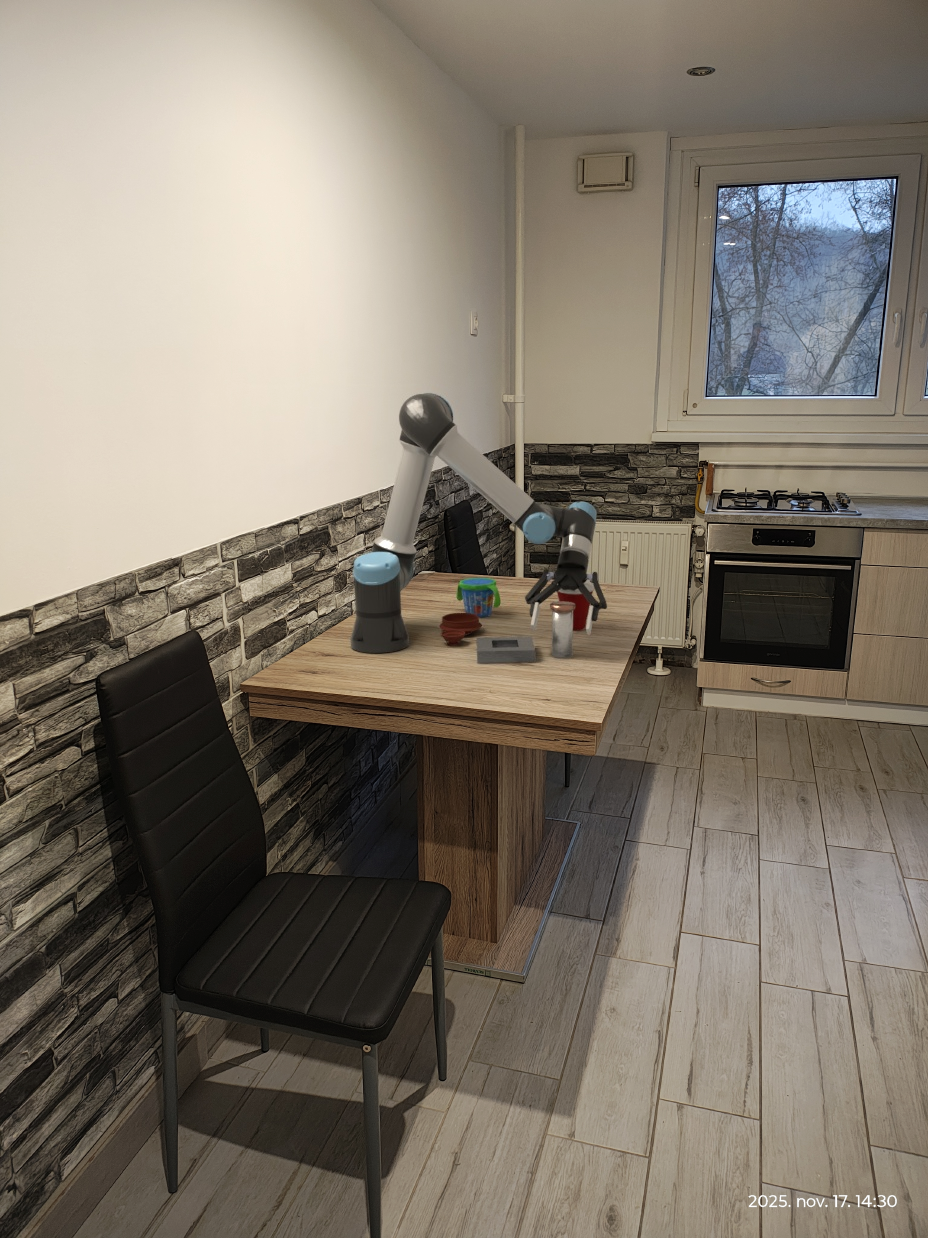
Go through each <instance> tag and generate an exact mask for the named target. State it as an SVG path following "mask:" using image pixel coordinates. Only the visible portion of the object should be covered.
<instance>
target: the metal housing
mask: <svg viewBox="0 0 928 1238" xmlns="http://www.w3.org/2000/svg"><path fill="white" fill-rule="evenodd" d="M475 639H476V663H477V664H502V663H503V664H504V663H505V664H506V663H508V664H509V663H518V664H519V663H536V647H535V643H534V640H533V636H498V637H497V636H493V637H491V636H490V637H485V636H484V637H476V638H475Z"/></svg>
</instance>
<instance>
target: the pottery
mask: <svg viewBox="0 0 928 1238" xmlns="http://www.w3.org/2000/svg"><path fill="white" fill-rule="evenodd" d="M438 627H439V629H441V630H443V631H441V633H440V635H441V637H442V638H443V640H444V641H446V642H447V645H448V646H458V645H460V642H461V641H462V639H463V638H464V637H465V636H468V635H471V634H472V632H473V631H477V630H479V629H481V628H482V627H483V624H482V623H481V622H480V617H479V616H478V615H476V614H472V613H465V612H455V613H454V612H452V613H448V614H444V615H443V616H441V622H440V624H439V625H438Z"/></svg>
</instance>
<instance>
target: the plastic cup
mask: <svg viewBox="0 0 928 1238" xmlns="http://www.w3.org/2000/svg"><path fill="white" fill-rule="evenodd" d="M557 585H558V584H557ZM584 585H585V586H586V588H587V589H588V590H589V592H590V593H591V594H592V595H593V592H594V590H595V588H594V585H593V583H591V582H587V581H586V582H585V583H584ZM556 594H557V598H558V602H559V601H565V602H572V603H574V604H575V609H574V610H573V632H574V631H575V632H576V631H582V630H584V629H586V625H587V620H588V614H589V608H590V606H591V604H590V603H589V602H588V601H587V599H586V598H585V597H584V595H583V594H582V593H581V592H580V591H579V589H576V590H575V591H573V590H563V589H560V590H559V591H557V592H556Z"/></svg>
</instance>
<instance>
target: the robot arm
mask: <svg viewBox="0 0 928 1238" xmlns="http://www.w3.org/2000/svg"><path fill="white" fill-rule="evenodd" d="M398 422H399V425H400V429H401V430H400V431H401V432H400V436H399V440H398V441H399V443H400V444H401V446H402V452H401V456H400V461H399V463H398V467H397V472H396V477H395V481H394V484H393V489H392V491H391V496H390V500H389V504H388V508H387V512H386V516H385V521H384V524H383V528H382V532H381V535H380V536H378V537H377V538H375V539H374V541H373V545H372V548H371V552H369V553H368V552H367V553H366V554H362V555H360V556H357V558H355V560H354V561H353V569H352V576H353V585H354V603H355V621H354V625H353V629H352V632H351V636H350V648H351V649H352V650H355V651H356V652H359V653H369V654H382V653H392V652H397V651H400V650H403V649H405V648H407V647H408V646H409V645H410V636H409V633H408V630H407V627H406V624H405V622H404V618H403V615H402V602H401V601H402V600H401V599H402V598H401V593H402V592H401V591H402V590H404V589H405V588H406V587H408V585H409V583H410V582H411V580H412V578H413V576H414V568H415V567H414V563H415V559H416V556H417V555H416V554H417V548H416V547H415V545H414V540H415V535H416V532H417V528H418V524H419V521H420V516H421V513H422V508H423V505H424V502H425V497H426V494H427V490H428V486H429V483H430V478H431V476H432V475H431V474H432V470H433V467H434V464H435V461H436V460H435V459H436V457H437V458H439V459H440V460H441V461H443V462H444V464H446V465H447V466H448V467H449V468H450V469H451V470H452V471H454V472H455V473H456V474H457V475H458V476H459V477H460V478H461V479H463V480H464V481H465V482H466V483H467V484H468V485H470V486H471V487H472V488H473V489H474V490H475V491H476V492H477V493H479V494H480V495H481V497H484V499H486V500H487V501H488V502H489V503H490V505H492V506H494V507H495V508H496V510H497V511H499V512H500V513H502V514H503V515H504V516H505V517H506V518H507V519H508V520H509V521H511V522H512V524H513V525H515V527H516V528H518V529H519V530H520V531H521V532H522V533H523V535H524V537H525V538H526V540H527V541H528V542H530V543H532V544H535V545H542V544H545V543H547V542H549V541H550V540H551V539H552V538H553V537H558V538H562V541H561V547H560V550H559V556H558V561H557V566H556V570H555V571H549V570H548V569H547V568H546V569H544V570H543V572H542V575H541V577H539V578H538V580H537V581H536V583H535V584H534V585H533V586H532V587H531V589H530V590H529V591H528V592H527V594H526V595H525V596H524V599H525V602H526V604H527V605H529V606H530V608H529V616H530V617H531V622H530V627H531V630H532V631H537V626H538V620H539V616H540V611H541V607H540V605H541V604H542V603H544V601H545V602H546V600H547V599H548V598H550V597H551V596H552V595H553V594H555V593H557V591H559V590H560V589H563V590H573V591H575V590H576V589H579V591H580V592H581V593H582V594H583V595H584V597H585V598H586V599H587V601H588V602H589V603H590V606H589V611H588V616H587V620H586V626H585V630H586V634H587V635H589V636H590V635H591V633H592V628H593V622H597V621H598V618H599V611H600V610H606V609H608V605H607V604H608V603H607V600H606V597H605V596H604V593H603V591H602V588H601V585H600V583H599V576H598V572H597V571H593V572H592V573H587V572H588V566H589V562H590V561H589V559H590V556H591V550H592V544H593V540H594V534H595V529H596V524H597V515H598V514H597V510H596V508H595V507H594V505H592V504H590V503H589V502H586V501H579V502H578V501H575V502H573V503H571V504H570V505H569V508H568V507H567V508H566V507H558V506H554V505H550V504H544V503H540V502H538V501H537V502H536V501H535V500H534V499H533V498H532V497H531V496H530V495H528V494H527V493H526V492H525V491H524V490H523V489H521V488H520V487H519V486H518V485H517V484H516V483H515V482H514V481H512V479H510V478H509V477H508V476H507V475H506V474H505V473H504V472H503V471H502V470H501V469H499V468H498V467H497V466H496V465H495V464H494V463H493V462H492V461H491V460H489V458H487V456H485V455H484V454H482V453H481V452H480V451H479V449H477V448H476V447H475V446H474V445H473V444H472V443H470V441H468V440H467V439H466V438H465V437H464V436H463V435H461V434H460V433H459V432H458V426H457V425H456V423H454V412H453V409H452V407H451V405H450V403H449V402H448V401H447V400H446V399H445V398H444V397H443V396H441V395H438V394H437V393H432V392H424V393H417V394H414V395H412V396H410V397H408V398H407V399H406V400H405V401H403V403H402V405H401V407H400V410H399V414H398ZM552 579H553V580H552ZM551 580H552V581H551ZM550 581H551V583H550V584H549V585H548V586H547V584H548V582H550ZM587 581H589V583H591V584H593V585H594V588H595V589H594V590H595V593H596V595H597V598H598V600H597V599H596V598H595V597H594V595H593V593H592V594H591V593H590V592H589V590H588V589H587V588H586V586H585V585H584V583H585V582H587ZM557 584H558V585H557Z"/></svg>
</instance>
